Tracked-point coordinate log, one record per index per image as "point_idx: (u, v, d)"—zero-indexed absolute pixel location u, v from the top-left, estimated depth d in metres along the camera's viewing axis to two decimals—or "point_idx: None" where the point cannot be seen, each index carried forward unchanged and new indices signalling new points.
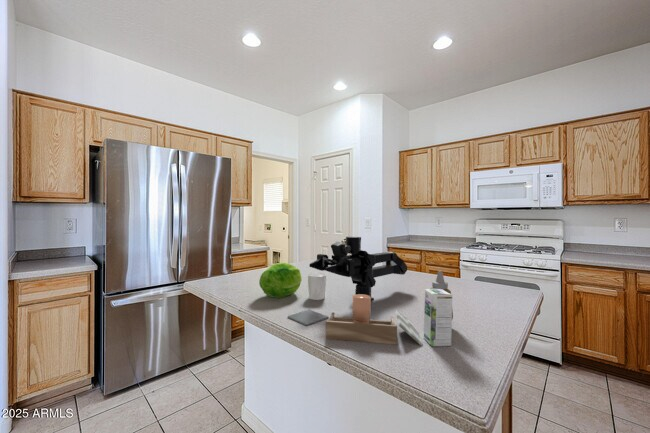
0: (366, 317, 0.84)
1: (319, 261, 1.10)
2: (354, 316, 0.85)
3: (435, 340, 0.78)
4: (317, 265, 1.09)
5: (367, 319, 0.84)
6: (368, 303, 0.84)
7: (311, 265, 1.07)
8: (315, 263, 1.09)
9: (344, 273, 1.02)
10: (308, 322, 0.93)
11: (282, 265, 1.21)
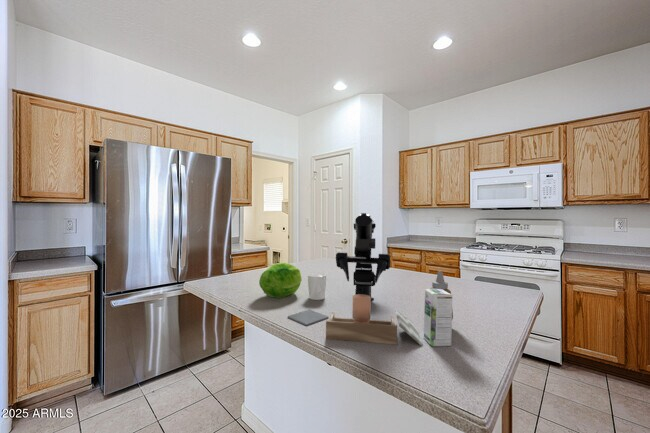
0: (366, 317, 0.84)
1: None
2: (354, 316, 0.85)
3: (435, 340, 0.78)
4: None
5: (367, 319, 0.84)
6: (368, 303, 0.84)
7: (348, 279, 0.96)
8: (348, 273, 0.97)
9: (384, 269, 0.99)
10: (308, 322, 0.93)
11: (282, 265, 1.21)
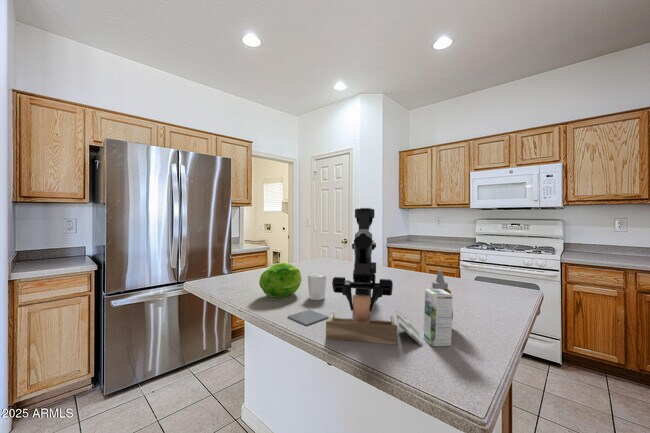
0: (366, 317, 0.84)
1: (351, 293, 0.88)
2: (354, 316, 0.85)
3: (435, 340, 0.78)
4: None
5: (367, 319, 0.84)
6: (368, 303, 0.84)
7: (352, 308, 0.86)
8: None
9: (380, 295, 0.90)
10: (308, 322, 0.93)
11: (282, 265, 1.21)
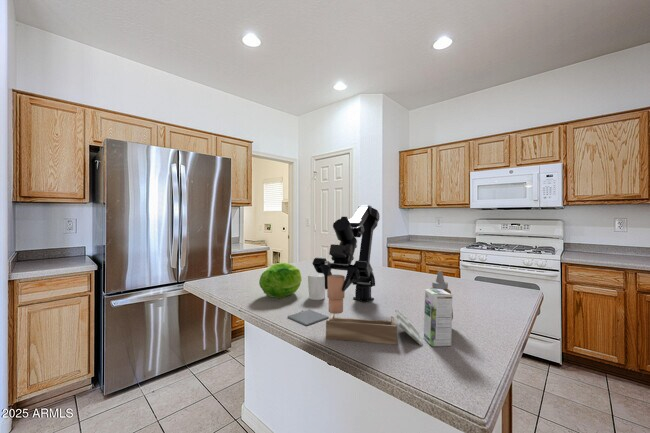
0: (338, 296, 0.87)
1: (328, 273, 0.92)
2: (327, 294, 0.89)
3: (435, 340, 0.78)
4: None
5: (339, 298, 0.87)
6: (340, 282, 0.87)
7: None
8: (327, 280, 0.91)
9: (357, 277, 0.92)
10: (308, 322, 0.93)
11: (282, 265, 1.21)
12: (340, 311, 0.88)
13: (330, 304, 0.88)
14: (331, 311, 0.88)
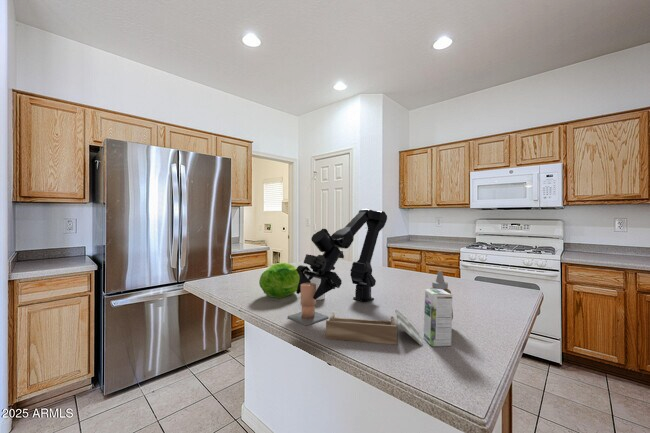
0: (306, 302, 0.96)
1: (302, 280, 1.03)
2: (300, 300, 0.98)
3: (435, 340, 0.78)
4: None
5: (307, 304, 0.96)
6: (308, 290, 0.96)
7: (298, 291, 1.01)
8: (300, 286, 1.01)
9: (332, 287, 0.96)
10: (308, 322, 0.93)
11: (282, 265, 1.21)
12: (309, 317, 0.96)
13: None
14: (302, 315, 0.97)
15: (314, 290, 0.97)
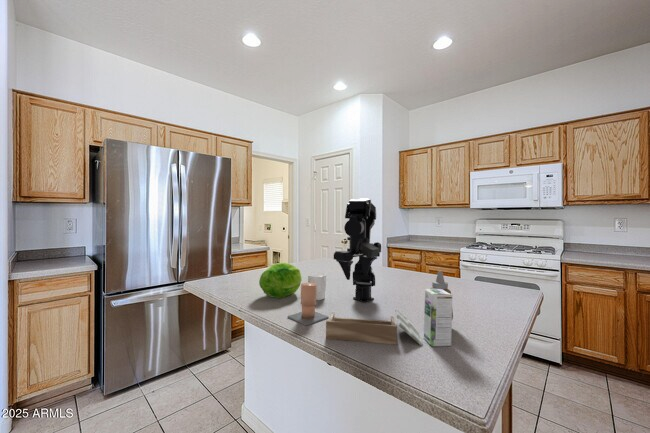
0: (306, 302, 0.96)
1: None
2: None
3: (435, 340, 0.78)
4: None
5: (307, 304, 0.96)
6: (309, 290, 0.96)
7: None
8: None
9: None
10: (308, 322, 0.93)
11: (282, 265, 1.21)
12: (309, 317, 0.96)
13: None
14: (302, 315, 0.97)
15: (314, 290, 0.97)
